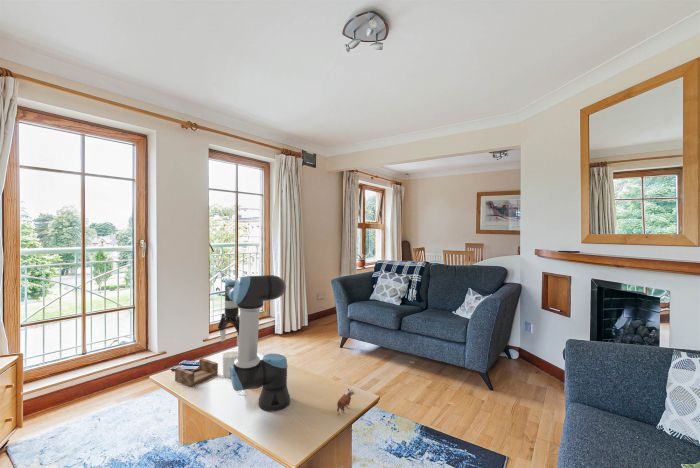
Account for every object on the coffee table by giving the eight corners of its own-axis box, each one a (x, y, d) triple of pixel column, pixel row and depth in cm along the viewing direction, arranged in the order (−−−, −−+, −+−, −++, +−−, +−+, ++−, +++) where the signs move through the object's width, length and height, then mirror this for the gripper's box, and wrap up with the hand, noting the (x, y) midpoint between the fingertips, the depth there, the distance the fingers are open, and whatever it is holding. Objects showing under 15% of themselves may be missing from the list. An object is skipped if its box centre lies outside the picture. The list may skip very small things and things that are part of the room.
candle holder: (222, 372, 191) (223, 352, 191) (240, 370, 194) (240, 350, 193) (221, 379, 181) (221, 358, 181) (239, 377, 184) (239, 356, 184)
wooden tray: (217, 375, 186) (217, 363, 186) (190, 387, 172) (190, 374, 172) (202, 369, 193) (202, 358, 193) (175, 380, 178) (175, 368, 178)
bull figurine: (356, 404, 158) (356, 388, 157) (341, 418, 146) (342, 400, 146) (348, 402, 160) (348, 385, 160) (333, 415, 148) (334, 397, 148)
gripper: (251, 308, 184) (251, 345, 184) (222, 303, 196) (221, 337, 196) (241, 311, 178) (241, 349, 178) (211, 305, 190) (211, 341, 190)
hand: (231, 343), depth 187 cm, fingers open, 13 cm apart
